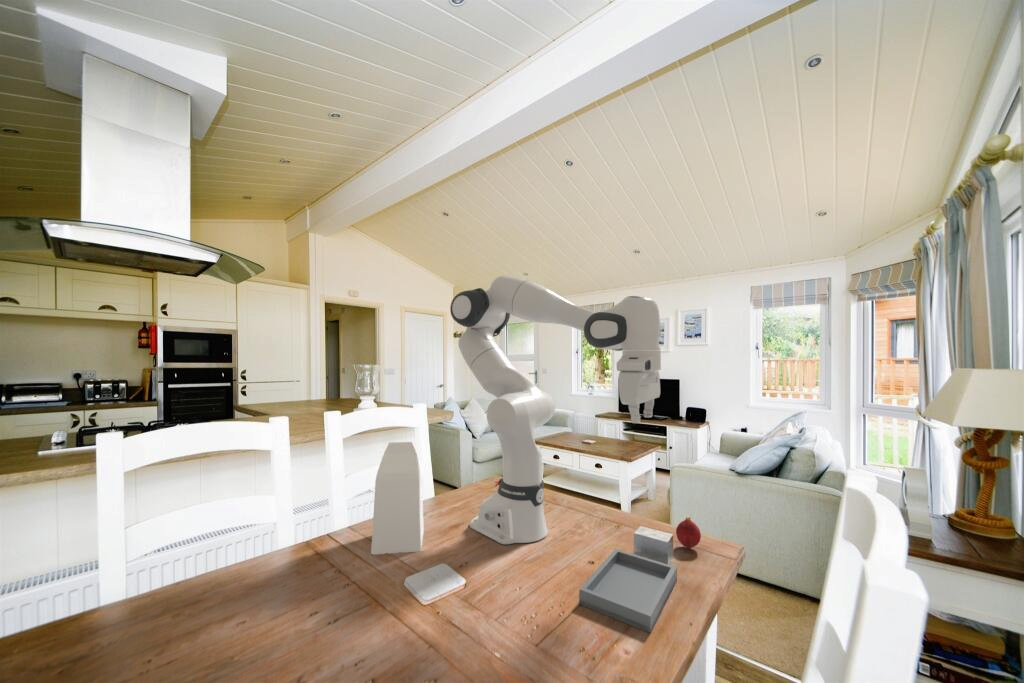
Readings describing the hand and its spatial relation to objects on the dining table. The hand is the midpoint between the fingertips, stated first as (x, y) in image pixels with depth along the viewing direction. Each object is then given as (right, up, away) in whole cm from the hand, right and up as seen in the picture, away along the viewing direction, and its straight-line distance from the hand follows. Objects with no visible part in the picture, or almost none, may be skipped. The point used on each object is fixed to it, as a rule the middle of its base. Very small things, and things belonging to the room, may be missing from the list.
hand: (642, 419), depth 96 cm
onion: (+14, -35, +6) cm, 38 cm away
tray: (-7, -34, -13) cm, 37 cm away
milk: (-61, -34, +9) cm, 71 cm away
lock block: (+3, -34, +1) cm, 34 cm away
